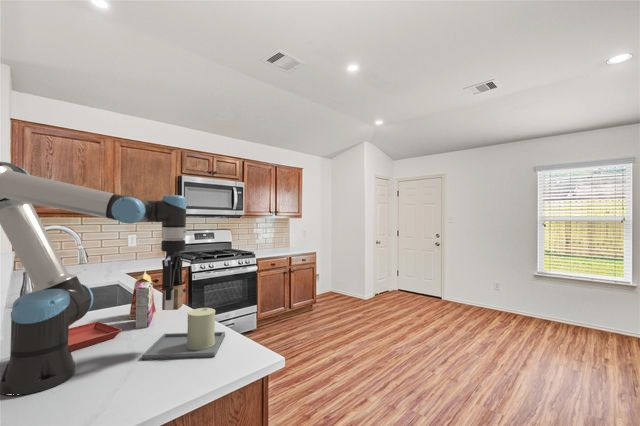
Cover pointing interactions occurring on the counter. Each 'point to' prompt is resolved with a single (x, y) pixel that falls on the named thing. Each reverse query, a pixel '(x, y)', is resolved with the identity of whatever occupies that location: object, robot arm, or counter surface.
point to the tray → (180, 347)
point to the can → (201, 328)
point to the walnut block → (177, 297)
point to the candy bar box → (143, 305)
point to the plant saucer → (90, 334)
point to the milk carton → (140, 279)
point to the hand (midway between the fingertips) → (172, 306)
